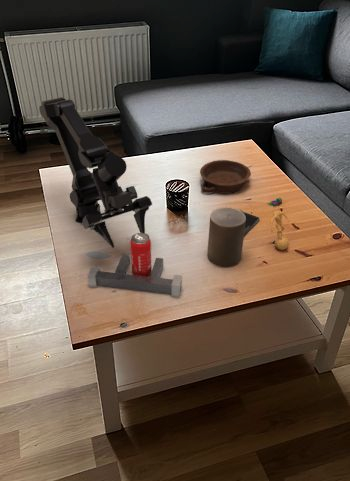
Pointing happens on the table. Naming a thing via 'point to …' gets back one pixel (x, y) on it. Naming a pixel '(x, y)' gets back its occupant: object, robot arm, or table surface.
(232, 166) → the dish
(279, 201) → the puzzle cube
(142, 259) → the beverage can
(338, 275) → the table surface
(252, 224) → the phone
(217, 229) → the pillar candle
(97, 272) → the rail dock
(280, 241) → the figurine
